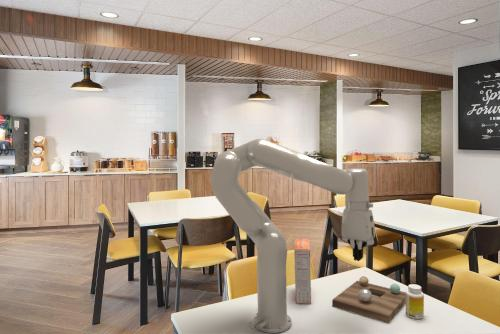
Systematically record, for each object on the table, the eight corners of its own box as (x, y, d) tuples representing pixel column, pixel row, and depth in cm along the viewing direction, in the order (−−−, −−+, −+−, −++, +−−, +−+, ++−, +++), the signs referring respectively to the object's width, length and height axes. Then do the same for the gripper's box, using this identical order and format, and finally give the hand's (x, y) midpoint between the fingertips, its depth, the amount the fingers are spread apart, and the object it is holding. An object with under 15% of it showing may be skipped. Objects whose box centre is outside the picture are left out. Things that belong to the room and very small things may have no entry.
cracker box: (295, 288, 145) (294, 238, 144) (310, 288, 144) (309, 238, 143) (294, 303, 131) (294, 248, 130) (311, 304, 131) (310, 248, 129)
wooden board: (388, 323, 116) (388, 316, 116) (332, 306, 129) (332, 299, 129) (408, 299, 133) (408, 293, 133) (357, 286, 146) (357, 280, 145)
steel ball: (369, 305, 123) (369, 293, 123) (356, 302, 126) (356, 289, 126) (373, 301, 127) (373, 288, 126) (361, 297, 130) (361, 285, 129)
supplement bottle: (427, 318, 119) (427, 288, 118) (412, 320, 117) (413, 290, 117) (416, 310, 124) (416, 282, 123) (402, 312, 123) (402, 284, 122)
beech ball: (366, 287, 138) (366, 279, 138) (357, 285, 140) (357, 277, 140) (369, 284, 141) (369, 276, 141) (361, 282, 143) (361, 274, 143)
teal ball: (398, 295, 131) (398, 286, 130) (388, 293, 133) (388, 284, 132) (401, 292, 133) (401, 283, 133) (391, 290, 135) (391, 281, 135)
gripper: (383, 205, 116) (384, 260, 118) (341, 202, 126) (342, 252, 127) (375, 209, 111) (376, 267, 112) (331, 205, 120) (332, 258, 121)
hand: (358, 259), depth 120 cm, fingers closed
